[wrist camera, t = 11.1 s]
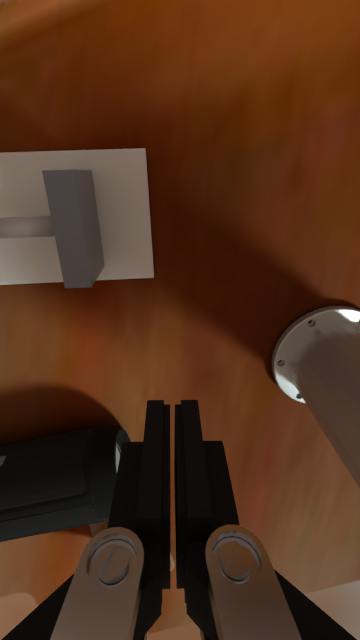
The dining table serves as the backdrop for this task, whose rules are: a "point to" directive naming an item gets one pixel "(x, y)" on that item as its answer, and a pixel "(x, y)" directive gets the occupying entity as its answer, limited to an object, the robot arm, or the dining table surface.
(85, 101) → the dining table surface
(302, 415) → the dining table surface
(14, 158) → the press frame
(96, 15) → the dining table surface
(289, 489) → the dining table surface
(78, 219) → the grey t-shaped bar
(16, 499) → the portable speaker
